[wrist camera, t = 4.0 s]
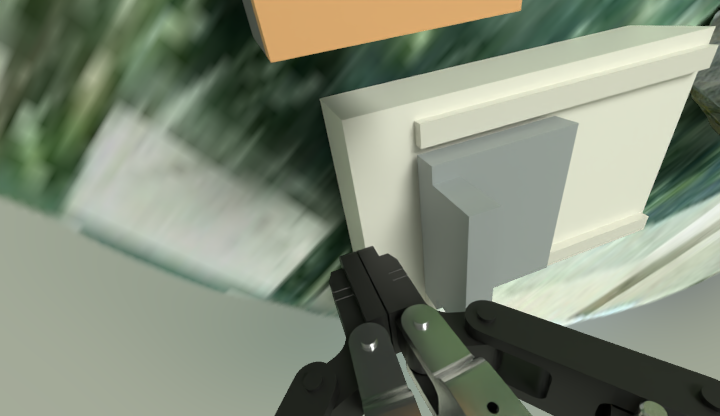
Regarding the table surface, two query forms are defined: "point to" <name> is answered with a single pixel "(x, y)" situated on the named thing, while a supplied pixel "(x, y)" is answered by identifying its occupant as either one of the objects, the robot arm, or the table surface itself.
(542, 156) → the grey l-shaped block
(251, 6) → the plug
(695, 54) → the socket block
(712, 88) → the stone
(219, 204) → the table surface
